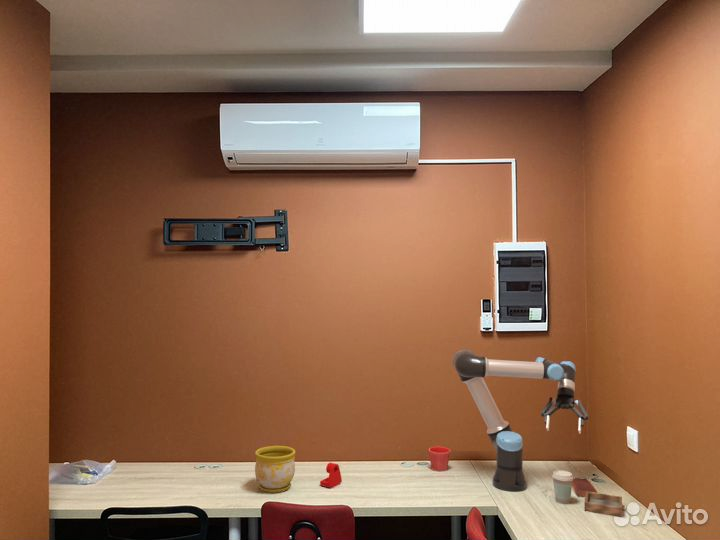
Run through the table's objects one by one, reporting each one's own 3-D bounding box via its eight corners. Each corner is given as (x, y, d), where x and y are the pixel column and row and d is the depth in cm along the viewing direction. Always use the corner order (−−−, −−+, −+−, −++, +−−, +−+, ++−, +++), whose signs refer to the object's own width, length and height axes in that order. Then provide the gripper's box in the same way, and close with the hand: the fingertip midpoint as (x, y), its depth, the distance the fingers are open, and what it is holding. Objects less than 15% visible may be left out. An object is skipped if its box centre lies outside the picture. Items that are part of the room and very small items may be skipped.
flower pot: (451, 472, 271) (452, 452, 271) (429, 472, 271) (429, 452, 272) (448, 465, 282) (448, 446, 282) (427, 465, 282) (427, 446, 282)
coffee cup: (557, 496, 242) (557, 468, 242) (576, 501, 235) (576, 473, 236) (548, 501, 236) (548, 472, 236) (567, 506, 230) (567, 477, 230)
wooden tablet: (601, 500, 239) (601, 496, 239) (576, 498, 241) (576, 494, 241) (589, 479, 265) (589, 476, 265) (567, 478, 267) (567, 474, 267)
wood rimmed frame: (584, 511, 225) (584, 502, 226) (586, 499, 238) (586, 491, 238) (622, 517, 219) (622, 508, 220) (622, 505, 232) (621, 496, 232)
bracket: (331, 480, 258) (331, 459, 258) (341, 483, 254) (341, 461, 255) (319, 486, 251) (319, 464, 251) (329, 489, 247) (330, 466, 247)
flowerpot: (246, 491, 243) (247, 454, 243) (267, 478, 259) (268, 443, 260) (282, 497, 236) (282, 459, 237) (301, 484, 253) (302, 448, 253)
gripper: (595, 397, 256) (594, 437, 243) (539, 394, 268) (535, 432, 254) (593, 387, 252) (592, 428, 238) (537, 385, 263) (533, 423, 249)
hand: (563, 430), depth 246 cm, fingers open, 13 cm apart
